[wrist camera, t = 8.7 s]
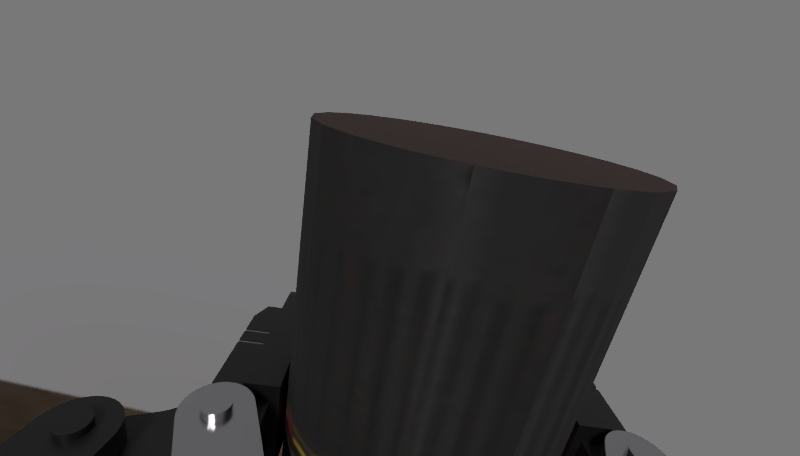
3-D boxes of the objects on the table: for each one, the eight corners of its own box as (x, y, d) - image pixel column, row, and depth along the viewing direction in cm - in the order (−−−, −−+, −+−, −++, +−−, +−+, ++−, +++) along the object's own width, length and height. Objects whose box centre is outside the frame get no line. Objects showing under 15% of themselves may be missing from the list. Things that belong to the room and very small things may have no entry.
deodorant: (494, 736, 10) (784, 209, 5) (258, 841, 8) (334, 156, 3) (422, 506, 15) (525, 139, 10) (269, 536, 13) (302, 103, 8)
